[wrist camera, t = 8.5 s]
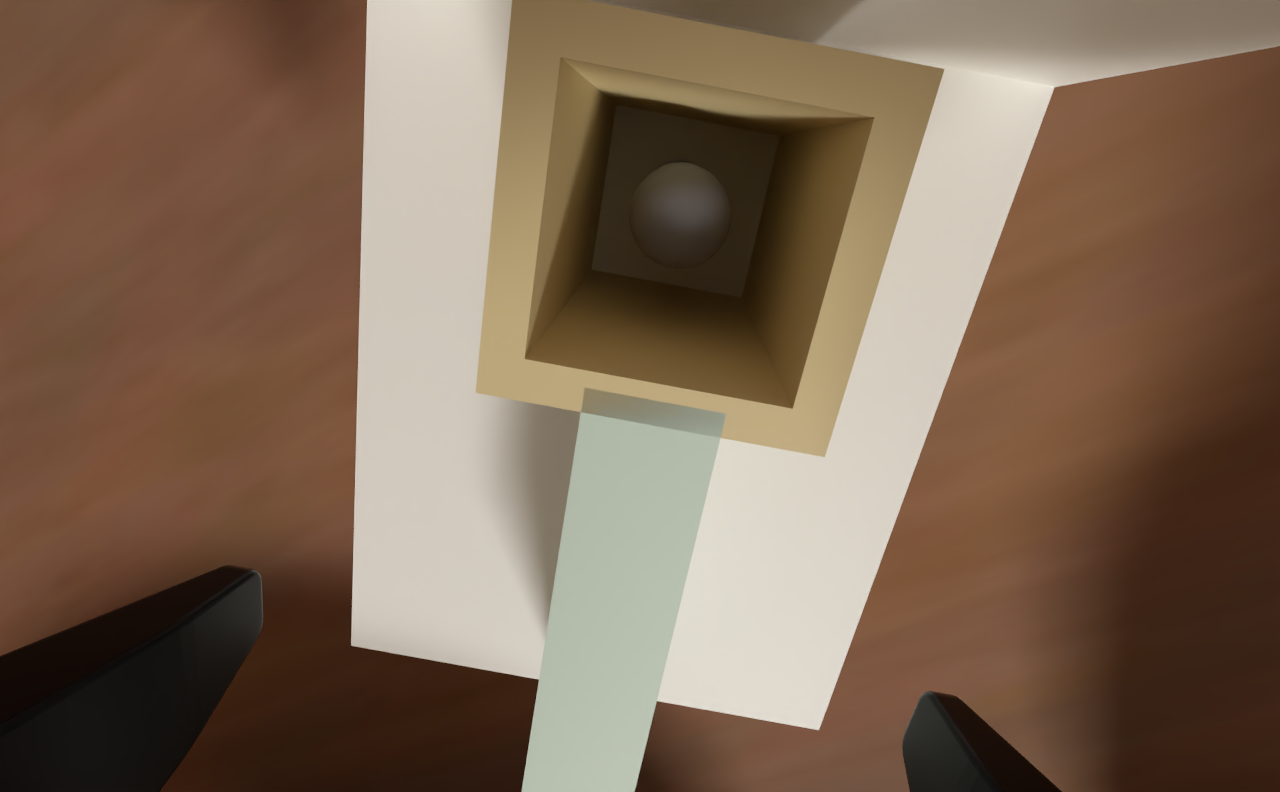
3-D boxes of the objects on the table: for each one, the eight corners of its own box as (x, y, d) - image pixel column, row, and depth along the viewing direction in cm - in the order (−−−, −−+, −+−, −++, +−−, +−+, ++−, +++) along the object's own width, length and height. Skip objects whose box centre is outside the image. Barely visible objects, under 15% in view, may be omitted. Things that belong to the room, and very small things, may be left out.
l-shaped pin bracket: (807, 685, 18) (902, 1066, 10) (376, 607, 18) (157, 936, 10) (1053, -23, 12) (1689, -325, 4) (408, -149, 12) (-59, -678, 4)
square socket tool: (668, 696, 16) (664, 978, 11) (511, 667, 16) (425, 936, 11) (814, 111, 12) (944, 68, 6) (593, 69, 12) (513, -14, 6)
